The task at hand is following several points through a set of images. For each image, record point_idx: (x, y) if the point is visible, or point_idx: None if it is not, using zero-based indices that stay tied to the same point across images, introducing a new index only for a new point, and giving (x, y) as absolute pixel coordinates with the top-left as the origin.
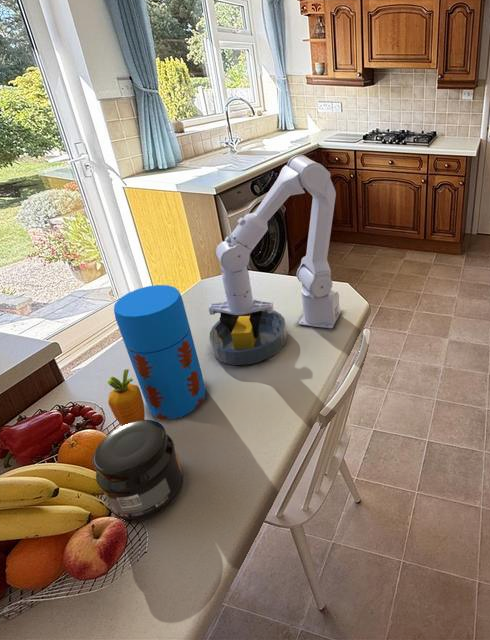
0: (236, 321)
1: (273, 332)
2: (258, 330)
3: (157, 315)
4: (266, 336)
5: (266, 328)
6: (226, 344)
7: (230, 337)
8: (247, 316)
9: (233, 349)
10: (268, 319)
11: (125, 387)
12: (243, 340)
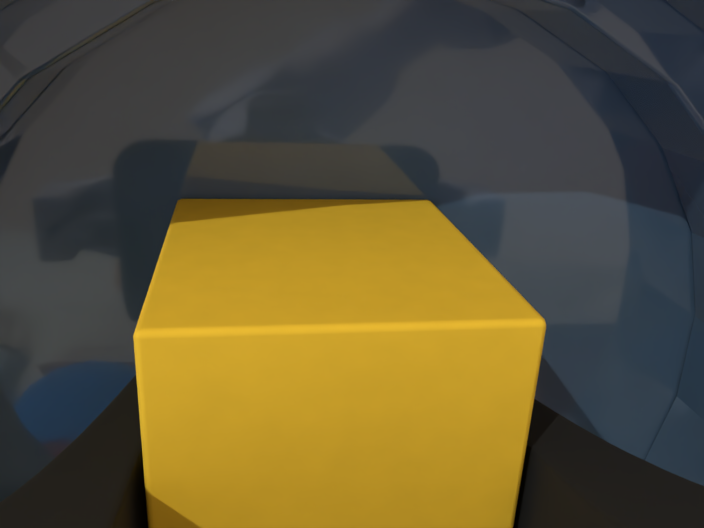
0: (133, 474)
1: (615, 225)
2: None
3: None
4: (531, 301)
5: (520, 128)
6: (52, 445)
7: (47, 315)
8: (347, 351)
9: None
10: (609, 42)
11: None
12: None
